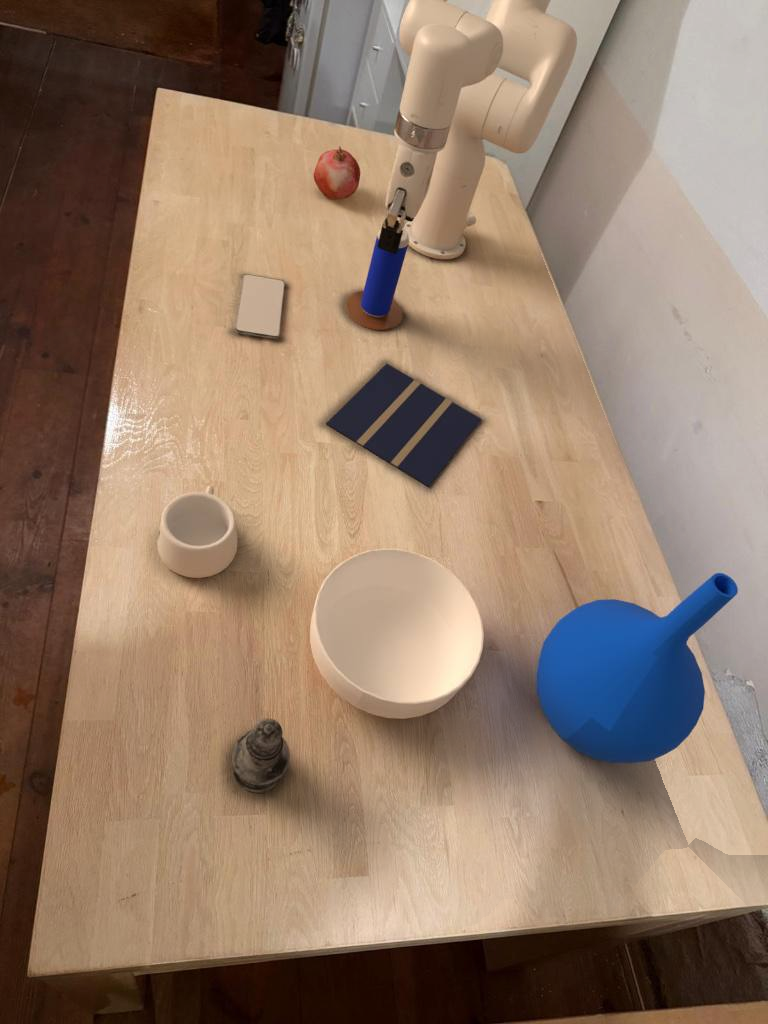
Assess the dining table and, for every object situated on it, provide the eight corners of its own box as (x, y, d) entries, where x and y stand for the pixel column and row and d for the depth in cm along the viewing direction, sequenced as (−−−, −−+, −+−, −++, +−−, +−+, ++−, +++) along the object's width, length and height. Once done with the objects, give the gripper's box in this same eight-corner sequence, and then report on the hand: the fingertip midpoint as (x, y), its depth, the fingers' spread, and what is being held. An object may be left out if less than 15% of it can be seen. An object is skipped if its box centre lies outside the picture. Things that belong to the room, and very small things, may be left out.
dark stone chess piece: (231, 739, 80) (238, 695, 70) (285, 739, 81) (300, 696, 72) (228, 796, 76) (236, 757, 67) (286, 795, 78) (301, 756, 68)
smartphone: (234, 330, 117) (243, 273, 126) (234, 333, 118) (243, 275, 127) (279, 337, 118) (285, 280, 127) (278, 340, 119) (284, 283, 128)
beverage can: (393, 306, 130) (414, 231, 119) (383, 322, 127) (404, 246, 115) (365, 295, 130) (384, 219, 119) (355, 311, 127) (374, 234, 115)
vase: (680, 766, 90) (857, 658, 67) (550, 801, 84) (695, 696, 60) (614, 631, 99) (747, 497, 76) (492, 653, 93) (598, 514, 70)
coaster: (375, 286, 133) (375, 284, 133) (413, 318, 130) (414, 317, 130) (334, 303, 128) (334, 301, 127) (373, 337, 125) (373, 335, 124)
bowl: (483, 630, 95) (506, 597, 88) (425, 764, 83) (447, 738, 76) (348, 559, 97) (361, 521, 90) (272, 680, 85) (280, 647, 78)
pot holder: (386, 364, 121) (386, 363, 121) (480, 420, 118) (481, 418, 118) (325, 424, 110) (326, 423, 110) (428, 487, 107) (428, 485, 107)
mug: (228, 587, 91) (231, 561, 86) (147, 572, 89) (146, 545, 85) (247, 510, 98) (250, 482, 93) (173, 496, 97) (173, 466, 92)
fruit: (335, 176, 152) (344, 127, 145) (365, 201, 149) (376, 153, 142) (300, 185, 148) (307, 135, 140) (331, 211, 144) (340, 162, 137)
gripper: (433, 165, 99) (403, 272, 113) (460, 111, 109) (430, 214, 123) (380, 146, 99) (357, 255, 113) (412, 93, 109) (388, 199, 123)
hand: (395, 233), depth 118 cm, fingers open, 9 cm apart
